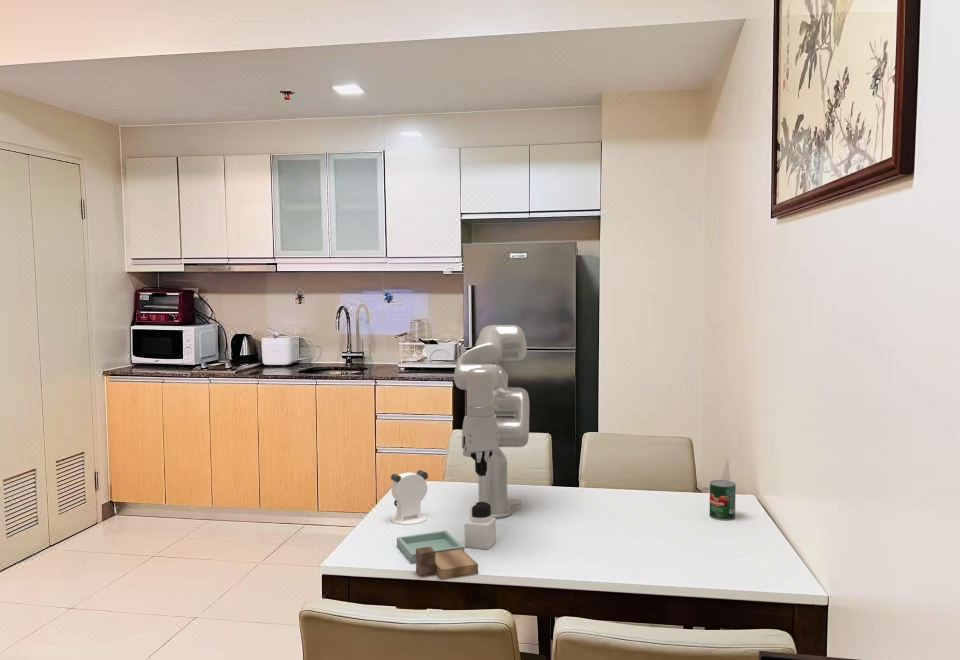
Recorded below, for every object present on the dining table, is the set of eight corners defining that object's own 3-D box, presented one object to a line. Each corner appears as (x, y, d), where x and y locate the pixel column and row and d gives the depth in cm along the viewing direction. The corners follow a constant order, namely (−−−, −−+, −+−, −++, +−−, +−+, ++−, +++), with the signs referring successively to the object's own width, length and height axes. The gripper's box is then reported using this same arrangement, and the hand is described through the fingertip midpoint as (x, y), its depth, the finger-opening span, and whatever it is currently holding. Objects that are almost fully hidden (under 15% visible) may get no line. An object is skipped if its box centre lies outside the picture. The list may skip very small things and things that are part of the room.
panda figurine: (417, 511, 239) (417, 466, 238) (434, 520, 229) (434, 473, 229) (385, 517, 232) (384, 472, 232) (401, 527, 223) (400, 479, 222)
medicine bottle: (496, 541, 209) (495, 501, 208) (488, 550, 202) (488, 508, 202) (473, 539, 211) (472, 499, 211) (464, 547, 204) (464, 505, 204)
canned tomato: (708, 519, 228) (708, 484, 228) (710, 512, 236) (710, 478, 235) (734, 521, 225) (735, 487, 225) (735, 514, 233) (736, 481, 232)
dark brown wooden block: (430, 569, 188) (430, 546, 188) (435, 574, 185) (435, 551, 184) (416, 571, 187) (415, 548, 187) (420, 576, 183) (420, 553, 183)
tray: (446, 538, 212) (446, 530, 212) (464, 555, 198) (464, 546, 198) (396, 545, 206) (396, 537, 206) (411, 563, 192) (411, 554, 192)
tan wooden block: (461, 559, 196) (461, 549, 196) (478, 575, 185) (477, 564, 185) (426, 565, 192) (426, 554, 192) (441, 581, 181) (441, 569, 181)
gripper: (499, 407, 210) (499, 468, 211) (451, 411, 204) (452, 474, 206) (509, 411, 203) (510, 475, 204) (460, 416, 197) (461, 481, 199)
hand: (481, 474), depth 205 cm, fingers closed
